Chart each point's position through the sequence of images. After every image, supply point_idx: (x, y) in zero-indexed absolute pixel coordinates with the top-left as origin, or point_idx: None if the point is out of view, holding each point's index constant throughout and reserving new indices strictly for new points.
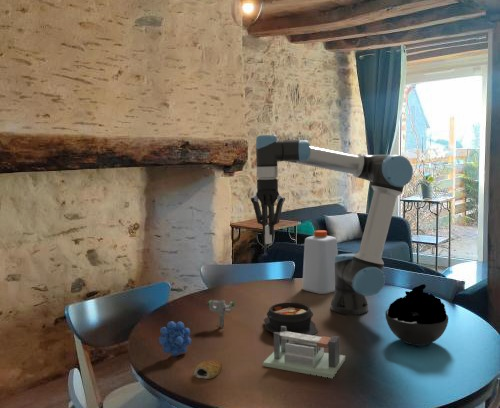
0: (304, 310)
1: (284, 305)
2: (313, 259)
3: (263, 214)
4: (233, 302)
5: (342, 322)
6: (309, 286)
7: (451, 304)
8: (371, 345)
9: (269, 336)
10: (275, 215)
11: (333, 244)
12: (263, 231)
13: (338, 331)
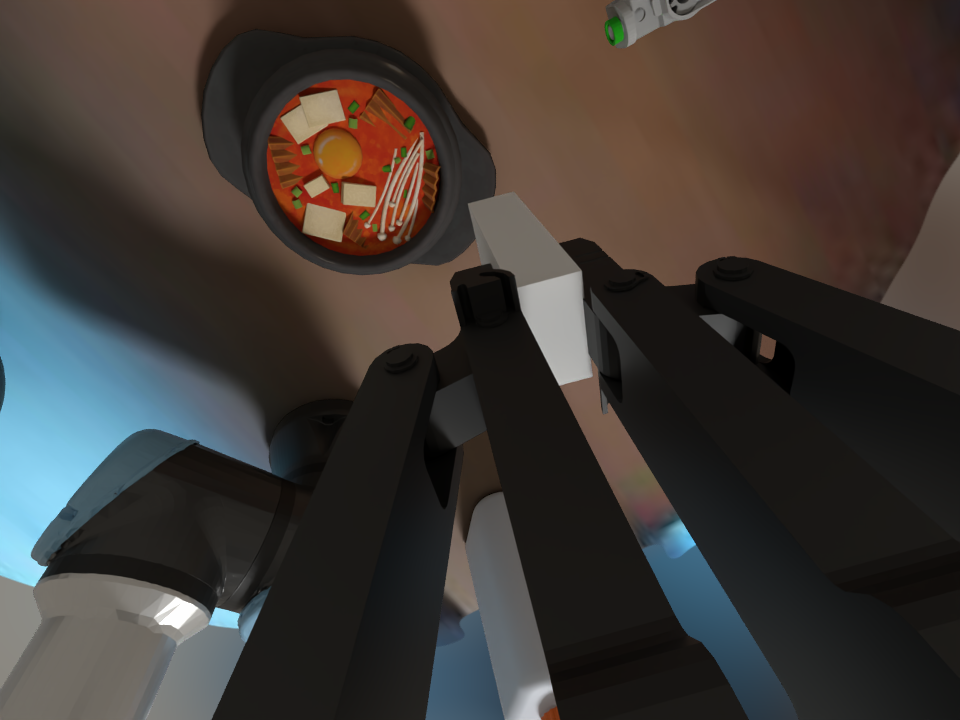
0: (318, 234)
1: (425, 229)
2: None
3: (726, 391)
4: (617, 30)
5: (266, 341)
6: None
7: None
8: (6, 212)
9: (381, 38)
10: (384, 475)
11: (503, 690)
12: (591, 252)
13: (210, 261)
